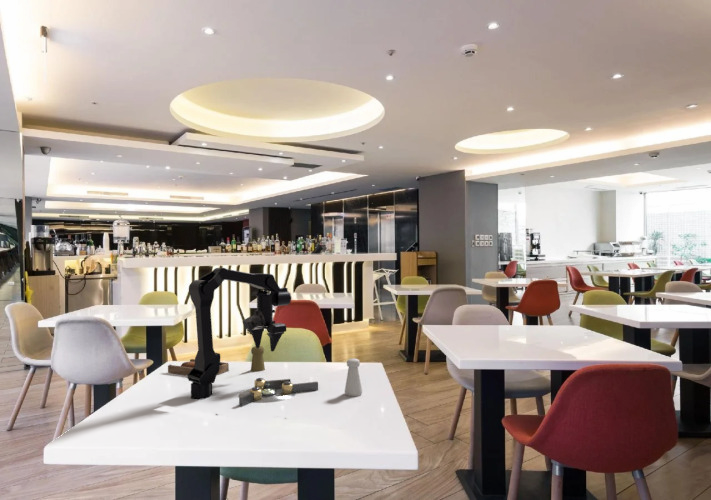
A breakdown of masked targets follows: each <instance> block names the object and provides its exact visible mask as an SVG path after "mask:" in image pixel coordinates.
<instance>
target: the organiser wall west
mask: <svg viewBox="0 0 711 500" xmlns="http://www.w3.org/2000/svg"><path fill="white" fill-rule="evenodd" d="M192 369H193V368H191V367H183V366H181V365H173V364H168V365H167V373H168V374H173V375H181V376H187V375H188V374H189V372H190V371H191V370H192Z"/></svg>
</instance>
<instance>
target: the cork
mask: <svg viewBox="0 0 711 500" xmlns="http://www.w3.org/2000/svg"><path fill="white" fill-rule="evenodd" d="M250 349H251V351H250V353H251V354H252V358H251V364H250V365H251V367H250V371H251V372H264V371H265V370H266V368H265V367H266V366H265V361H264V354H265V347H264V346H263V345H262V346H261V345H260V347H259V348H256V345H254V346H253V347H252V348H250Z"/></svg>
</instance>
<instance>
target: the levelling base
mask: <svg viewBox="0 0 711 500" xmlns="http://www.w3.org/2000/svg"><path fill="white" fill-rule="evenodd" d="M296 395H297V393H292V394H289V395H285V394H282V388H275V389H263V390H261V389H260V388H259V387H255V386H253V387H251V388H248V389H245V390H242V391H241V392H240V393H239V394H238V406H239V407H244V406H247V405H249V404H251V403H254V404H255V403H256V404H261V403H262V404H264V403H265V404H266V403H269V404H270V403H277V402H282V401H286V400H288V399H289V400H290V399H291V398H293V397H295V396H296Z"/></svg>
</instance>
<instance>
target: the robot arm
mask: <svg viewBox="0 0 711 500" xmlns="http://www.w3.org/2000/svg"><path fill="white" fill-rule="evenodd" d="M275 278H276V277H275V276H274V275H273V273H249V272H245V271H239V270H232V269H230V268H226V267H216V268H214V269H213V270H211V271H210V272H209V273H206V274H204V275H203V276H201V277H200V278H199V279H195V280H193V281H192V282H190V284H189V286H188V293H189V297H190V300H191V301H192V303H193V306H194V308H195V321H196V322H195V323H196V335H197V337H196V338H197V352H196V355H195V357H194V359H195V364H194V368H193V369H192V370H191V371H190V372H189V374H188V375H186V377H187V380H188V382H192V383H190V399H191V400H197V401H199V400H204V399H208V398H210V397H211V396H212V395H213V384H214V383H215V381H216V379H217V378H216V377H217V373H218V372H219V370H220V366H221V363H220V362H221V353H219V352H216V351H215V350H214V341H213V338H214V337H213V328H212V327H213V325H212V312H211V311H212V310H211V306H212V304H213V300H214V298H215V297H214V296H215V291H216V290H217V289H218V288H219V287H221V285H222V284H223V282H224V281H230V282H234V283H235V282H236V283H242V284H246V285H249V286H251V287H253V288H256V289H255V290H254V291H253V292H252V293H251V296H252V297H253V296H255V297H256V309H255V310H254V311H253V315H251V316H249V317H246V318H245V319H243V320H242V325H243V327H244V330H246V331H247V332H248V333H249V334H251V336H252V339H253V342H254V346H256V348H259V347H260V346H261V343H262V337H263V333H264V330H266V331H267V332H266V335H267V336H268V338H269V344H270V345H269V346H270V348H269V349H270V352H274V351H275V349H276V347H277V345H278V343H279V341H280V340H281V337H282V336H283V334H285V332H287V325H286V324H285V323H281V322H277V323H276V321H275V320H274V317H273V316H274V313H276V309H273V308H274V307H282V306H283V307H284V306H289V305H290V304H291V302H292V296H291V293H290V291H288V290H289V289H288V287H280V285H279V284H278V283H277V281H276V279H275ZM273 306H274V307H273Z"/></svg>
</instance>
